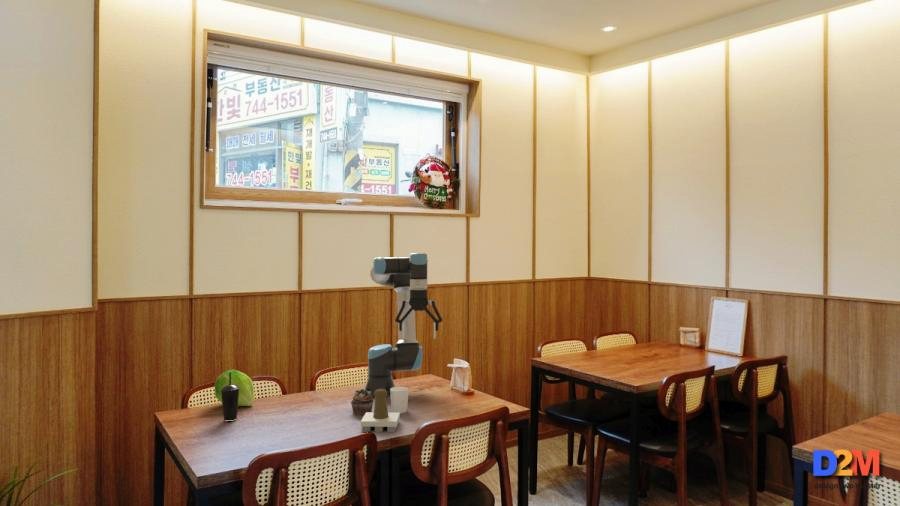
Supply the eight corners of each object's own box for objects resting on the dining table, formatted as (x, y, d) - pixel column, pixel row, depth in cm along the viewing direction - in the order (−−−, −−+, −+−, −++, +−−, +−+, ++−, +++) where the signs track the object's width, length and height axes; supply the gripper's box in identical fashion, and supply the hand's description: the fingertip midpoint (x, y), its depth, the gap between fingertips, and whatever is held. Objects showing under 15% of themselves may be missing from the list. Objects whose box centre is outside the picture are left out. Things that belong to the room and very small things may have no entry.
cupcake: (377, 411, 252) (377, 388, 252) (365, 417, 243) (365, 393, 243) (359, 408, 256) (359, 386, 256) (346, 414, 247) (346, 391, 247)
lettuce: (231, 416, 249) (254, 386, 252) (198, 389, 254) (221, 360, 257) (248, 418, 265) (270, 389, 268) (217, 392, 271) (239, 365, 274)
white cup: (405, 414, 247) (405, 391, 246) (388, 413, 248) (387, 390, 248) (410, 409, 254) (410, 386, 254) (393, 408, 256) (393, 386, 256)
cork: (373, 414, 233) (373, 387, 233) (388, 414, 234) (388, 387, 233) (372, 419, 227) (372, 391, 227) (388, 418, 228) (388, 391, 227)
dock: (366, 421, 237) (366, 412, 237) (400, 422, 236) (399, 412, 236) (360, 431, 225) (360, 421, 225) (396, 431, 224) (396, 421, 224)
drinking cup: (244, 418, 242) (243, 371, 241) (231, 424, 234) (231, 375, 234) (229, 416, 244) (228, 369, 244) (216, 422, 237) (216, 373, 237)
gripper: (388, 289, 243) (388, 339, 243) (447, 289, 242) (447, 339, 242) (390, 288, 250) (391, 336, 250) (448, 288, 249) (448, 337, 250)
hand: (418, 338), depth 246 cm, fingers open, 13 cm apart
